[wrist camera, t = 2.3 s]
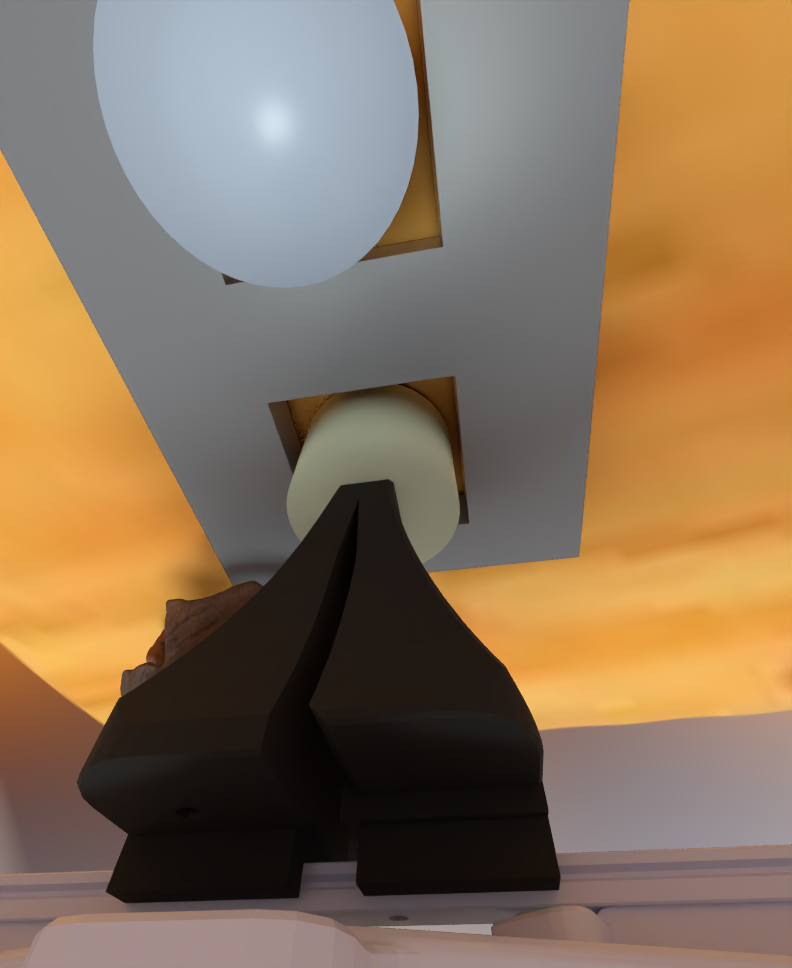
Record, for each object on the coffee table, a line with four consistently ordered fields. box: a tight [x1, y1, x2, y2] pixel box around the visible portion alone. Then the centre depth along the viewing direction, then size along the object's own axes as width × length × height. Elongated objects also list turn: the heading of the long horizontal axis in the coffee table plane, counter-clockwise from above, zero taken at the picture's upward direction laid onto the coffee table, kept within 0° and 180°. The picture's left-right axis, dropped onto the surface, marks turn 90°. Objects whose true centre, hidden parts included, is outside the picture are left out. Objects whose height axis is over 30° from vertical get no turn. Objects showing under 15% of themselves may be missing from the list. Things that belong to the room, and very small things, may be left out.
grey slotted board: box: [0, 0, 629, 586], centre depth 10 cm, size 12×25×2 cm, turn 9°
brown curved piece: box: [120, 581, 263, 696], centre depth 19 cm, size 12×10×8 cm
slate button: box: [93, 0, 419, 288], centre depth 8 cm, size 4×4×3 cm
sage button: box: [287, 384, 460, 564], centre depth 13 cm, size 4×4×3 cm
